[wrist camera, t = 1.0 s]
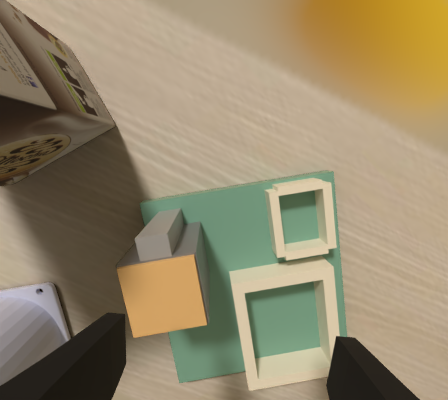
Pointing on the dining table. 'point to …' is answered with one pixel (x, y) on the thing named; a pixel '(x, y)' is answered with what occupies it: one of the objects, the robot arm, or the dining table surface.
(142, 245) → the plug
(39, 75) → the coffee box
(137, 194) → the dining table surface
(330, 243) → the board
